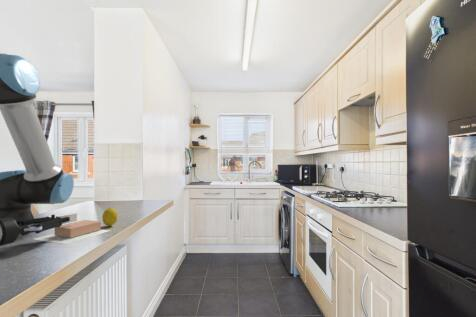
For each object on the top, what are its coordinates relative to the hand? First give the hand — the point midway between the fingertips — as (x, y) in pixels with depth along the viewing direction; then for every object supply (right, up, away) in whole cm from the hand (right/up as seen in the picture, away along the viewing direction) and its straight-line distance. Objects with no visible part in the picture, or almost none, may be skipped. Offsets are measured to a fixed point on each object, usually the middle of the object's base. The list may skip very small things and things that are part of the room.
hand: (75, 216), depth 92 cm
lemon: (+7, -7, +12) cm, 15 cm away
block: (-2, -4, -4) cm, 6 cm away
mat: (0, -7, 0) cm, 7 cm away
